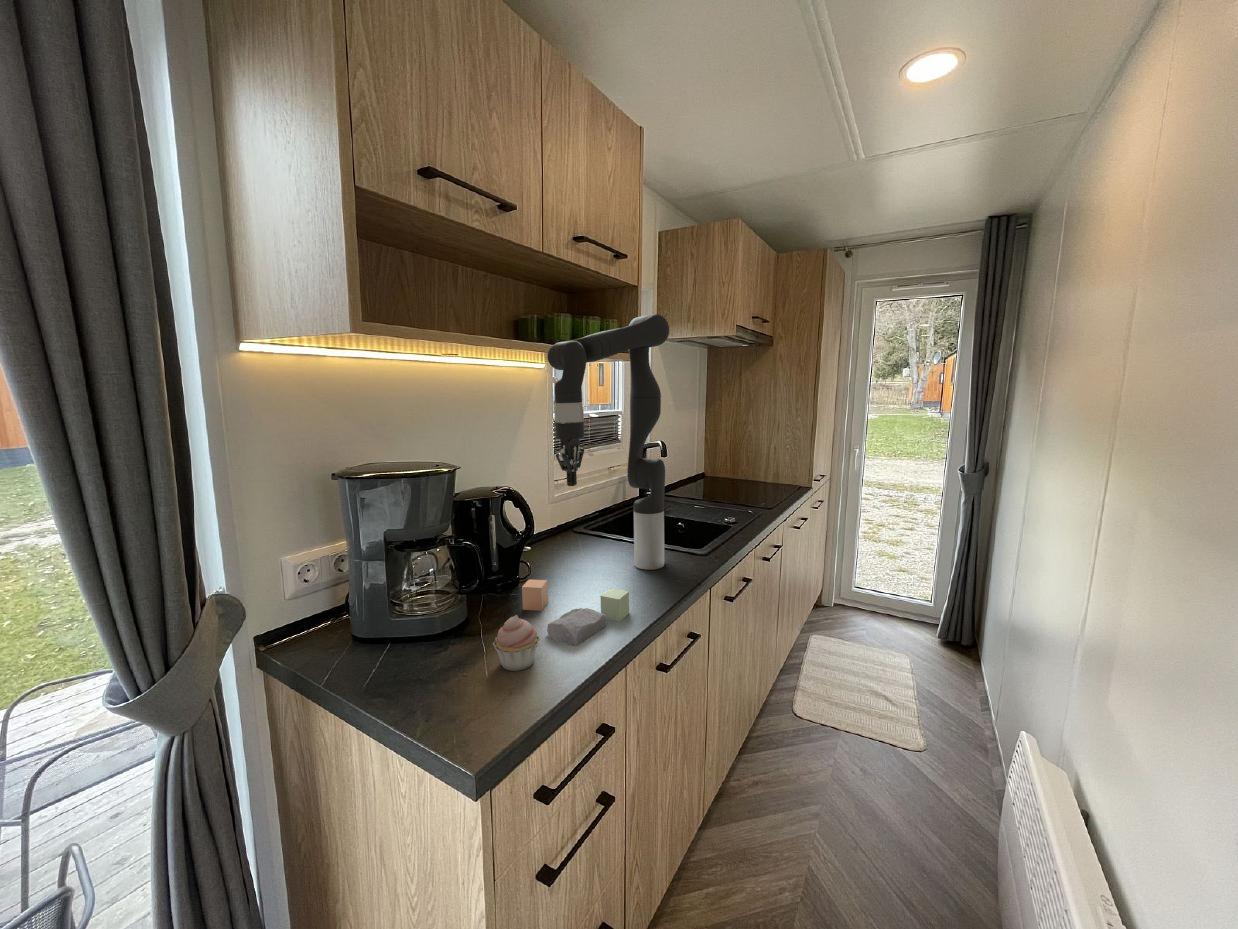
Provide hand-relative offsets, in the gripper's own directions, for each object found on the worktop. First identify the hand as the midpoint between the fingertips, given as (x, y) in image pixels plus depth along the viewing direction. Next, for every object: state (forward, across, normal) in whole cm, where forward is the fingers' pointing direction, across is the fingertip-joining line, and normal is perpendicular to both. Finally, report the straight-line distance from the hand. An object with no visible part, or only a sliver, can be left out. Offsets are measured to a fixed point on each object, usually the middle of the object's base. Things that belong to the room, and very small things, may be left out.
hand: (571, 485), depth 132 cm
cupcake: (+29, +38, +5) cm, 48 cm away
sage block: (+29, +12, +16) cm, 35 cm away
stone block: (+29, +22, +10) cm, 38 cm away
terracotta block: (+29, +13, -5) cm, 32 cm away
